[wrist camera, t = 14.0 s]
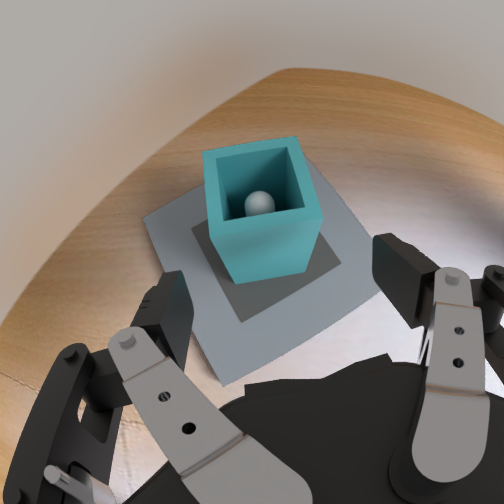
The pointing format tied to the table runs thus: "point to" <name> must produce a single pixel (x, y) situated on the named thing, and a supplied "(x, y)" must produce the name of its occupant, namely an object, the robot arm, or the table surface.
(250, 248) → the teal square container
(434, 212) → the table surface
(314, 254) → the post plate
